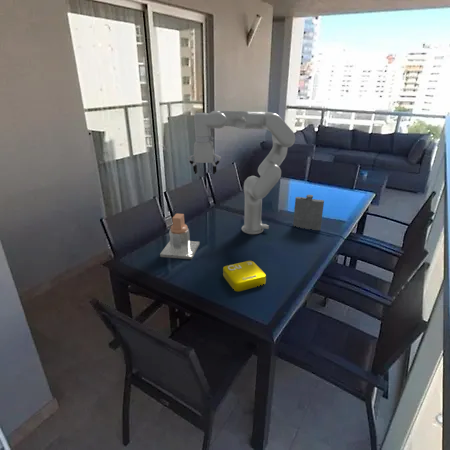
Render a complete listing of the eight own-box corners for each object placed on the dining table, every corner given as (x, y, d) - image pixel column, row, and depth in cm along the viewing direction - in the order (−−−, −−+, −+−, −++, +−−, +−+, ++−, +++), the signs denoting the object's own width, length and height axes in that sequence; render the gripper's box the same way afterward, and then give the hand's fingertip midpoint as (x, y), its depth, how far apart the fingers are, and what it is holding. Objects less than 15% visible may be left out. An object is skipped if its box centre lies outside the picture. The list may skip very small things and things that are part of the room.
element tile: (235, 293, 131) (235, 283, 129) (221, 274, 144) (221, 265, 142) (267, 284, 136) (268, 275, 134) (251, 267, 149) (251, 258, 147)
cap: (190, 232, 164) (188, 213, 159) (185, 239, 156) (184, 219, 152) (174, 231, 165) (172, 212, 161) (168, 238, 157) (167, 218, 153)
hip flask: (321, 228, 186) (325, 196, 178) (319, 231, 183) (323, 198, 174) (293, 224, 192) (296, 192, 184) (292, 226, 189) (294, 194, 181)
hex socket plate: (199, 244, 170) (198, 224, 165) (191, 259, 155) (190, 238, 151) (170, 242, 172) (169, 222, 168) (160, 256, 158) (158, 236, 153)
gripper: (221, 138, 160) (222, 171, 167) (188, 138, 162) (190, 171, 169) (219, 140, 153) (220, 175, 160) (184, 140, 155) (187, 175, 163)
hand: (205, 173), depth 165 cm, fingers open, 9 cm apart
